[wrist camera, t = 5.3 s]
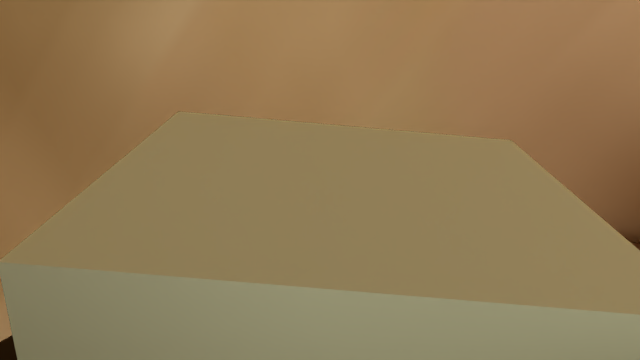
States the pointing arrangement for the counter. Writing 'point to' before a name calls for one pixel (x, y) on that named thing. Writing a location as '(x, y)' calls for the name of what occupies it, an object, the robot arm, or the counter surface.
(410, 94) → the counter surface
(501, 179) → the square hollow cube
